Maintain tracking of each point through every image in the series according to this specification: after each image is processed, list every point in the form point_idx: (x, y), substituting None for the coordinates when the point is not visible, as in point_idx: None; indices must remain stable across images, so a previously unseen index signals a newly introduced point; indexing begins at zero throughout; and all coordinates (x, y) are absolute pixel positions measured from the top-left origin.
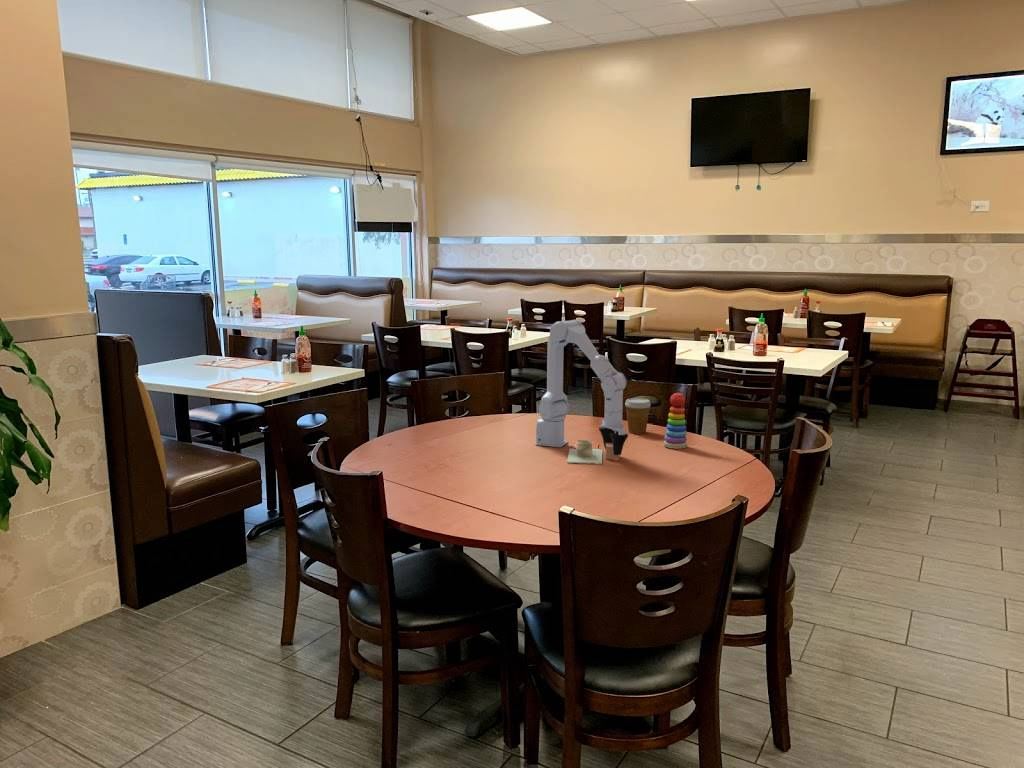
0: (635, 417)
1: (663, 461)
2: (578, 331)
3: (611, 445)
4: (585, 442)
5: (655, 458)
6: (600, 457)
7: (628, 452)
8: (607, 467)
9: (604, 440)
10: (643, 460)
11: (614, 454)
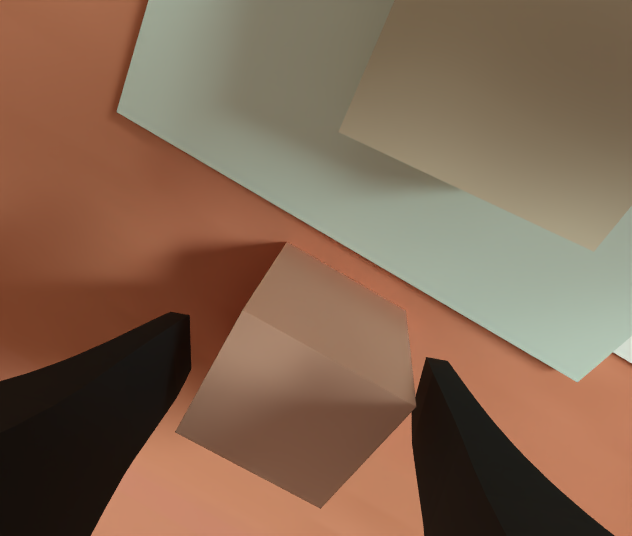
0: None
1: (122, 524)
2: None
3: (259, 390)
4: (511, 32)
5: (194, 531)
6: (306, 203)
7: (403, 500)
8: (25, 111)
9: (452, 426)
10: (170, 459)
11: (179, 314)
